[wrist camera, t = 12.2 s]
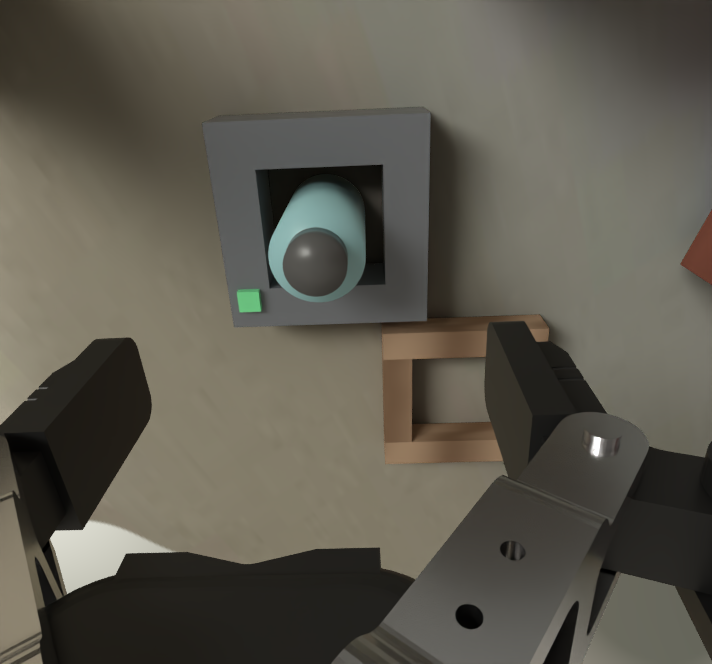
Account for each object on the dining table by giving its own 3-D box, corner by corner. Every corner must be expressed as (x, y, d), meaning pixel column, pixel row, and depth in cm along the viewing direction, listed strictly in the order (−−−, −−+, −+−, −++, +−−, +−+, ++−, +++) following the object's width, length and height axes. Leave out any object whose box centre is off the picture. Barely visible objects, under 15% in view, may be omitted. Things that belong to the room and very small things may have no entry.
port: (423, 106, 29) (431, 113, 26) (420, 296, 34) (427, 324, 31) (219, 115, 30) (199, 123, 26) (245, 302, 35) (232, 330, 31)
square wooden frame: (539, 314, 35) (549, 328, 33) (524, 441, 39) (532, 460, 37) (381, 319, 35) (382, 333, 33) (384, 445, 39) (385, 463, 38)
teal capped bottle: (363, 172, 31) (363, 214, 23) (366, 247, 33) (367, 311, 25) (285, 175, 31) (258, 218, 23) (293, 250, 33) (270, 314, 25)
